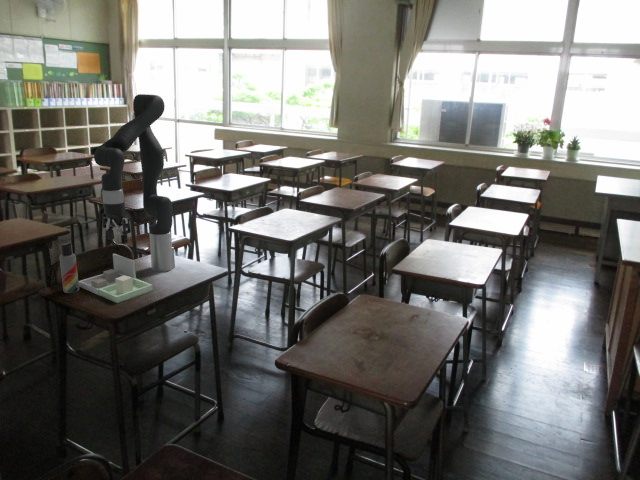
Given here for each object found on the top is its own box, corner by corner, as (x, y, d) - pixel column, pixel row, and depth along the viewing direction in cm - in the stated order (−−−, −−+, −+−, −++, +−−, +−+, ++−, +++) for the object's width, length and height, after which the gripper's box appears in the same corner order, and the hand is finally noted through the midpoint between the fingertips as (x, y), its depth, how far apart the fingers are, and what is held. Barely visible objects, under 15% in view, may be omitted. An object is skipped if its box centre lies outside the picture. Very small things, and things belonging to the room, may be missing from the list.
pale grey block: (100, 287, 206) (100, 277, 205) (107, 289, 204) (106, 280, 203) (92, 290, 203) (91, 280, 202) (98, 292, 201) (97, 283, 200)
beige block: (125, 289, 203) (124, 275, 202) (133, 291, 201) (132, 277, 200) (116, 293, 200) (115, 278, 198) (124, 295, 198) (123, 281, 196)
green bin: (134, 284, 211) (134, 277, 210) (153, 291, 205) (152, 284, 204) (99, 296, 199) (98, 289, 198) (117, 304, 192) (116, 297, 191)
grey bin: (113, 276, 219) (113, 270, 218) (133, 284, 211) (133, 278, 211) (78, 287, 207) (77, 281, 206) (98, 296, 199) (97, 290, 198)
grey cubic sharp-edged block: (112, 277, 216) (111, 268, 215) (118, 280, 214) (117, 271, 213) (104, 280, 213) (103, 271, 212) (110, 282, 211) (109, 273, 209)
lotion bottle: (75, 294, 200) (69, 245, 194) (60, 293, 200) (54, 245, 194) (82, 288, 205) (76, 241, 199) (68, 288, 205) (62, 240, 199)
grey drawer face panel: (117, 275, 220) (115, 253, 217) (137, 283, 213) (135, 260, 210) (114, 276, 219) (112, 253, 216) (134, 284, 212) (132, 261, 209)
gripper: (134, 201, 193) (137, 242, 198) (111, 196, 200) (115, 235, 205) (116, 205, 187) (120, 247, 192) (93, 199, 194) (98, 240, 199)
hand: (117, 241), depth 199 cm, fingers open, 8 cm apart
